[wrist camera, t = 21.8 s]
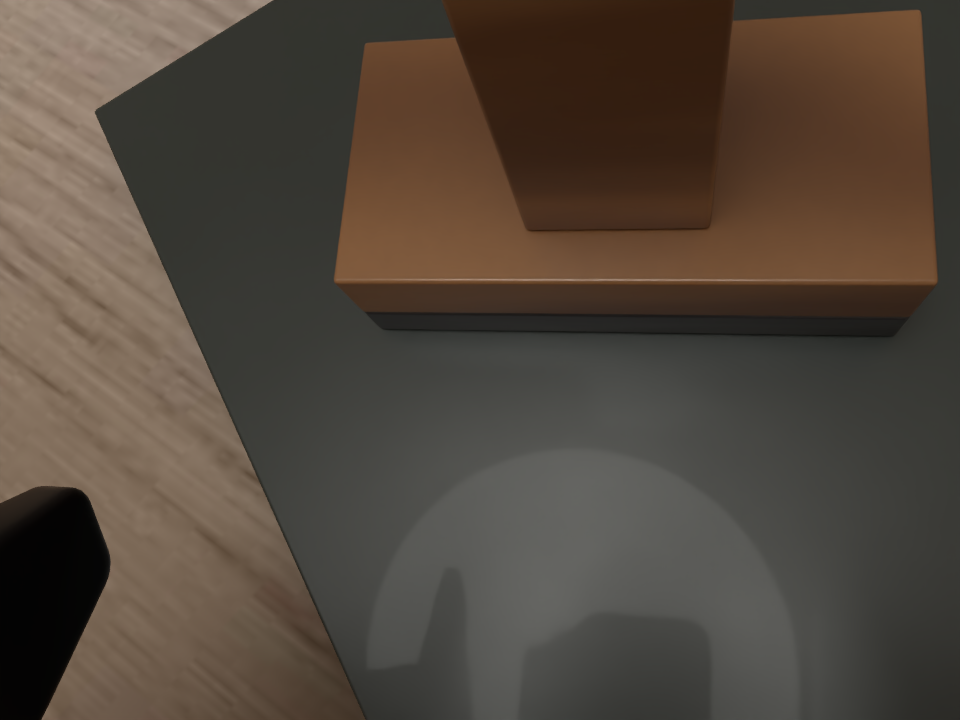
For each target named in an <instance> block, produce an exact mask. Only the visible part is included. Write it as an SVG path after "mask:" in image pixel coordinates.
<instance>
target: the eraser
mask: <svg viewBox="0 0 960 720" xmlns="http://www.w3.org/2000/svg"><path fill="white" fill-rule="evenodd" d="M442 3H443V6H444V9H445V11H446V14H447V17H448V19H449V22H450V25H451V28H452V30H453V33H454V36H455V38H439V39H422V40H406V41H389V42H372V43H366V44H365V46H364V53H363V61H362V68H361V76H360V84H359V91H358V99H357V107H356V114H355V122H354V129H353V137H352V145H351V152H350V160H349V168H348V175H347V183H346V191H345V198H344V206H343V214H342V221H341V229H340V237H339V244H338V252H337V260H336V267H335V275H334V282H335V284H336V285H337V286H338V287H339V288H340V289H341V290H342V291H343V292H344V293H345V294H346V295H347V296H348V297H349V298H350V299H351V300H352V301H353V302H354V303H355V304H356V305H357V306H358V307H359V308H360V309H361V310H362V311H364V312H365V313H366V314H367V315H368V316H369V317H370V318H371V319H372V320H373V321H374V322H375V323H376V324H377V325H378V326H379V327H380V328H382V329H430V330H500V331H571V332H641V333H712V334H783V335H853V336H893V335H895V334H896V333H897V332H898V331H899V330H900V328H901V327H902V326H903V325H904V323H905V322H906V321H907V320H908V318H909V316H911V315H912V314H913V313H914V312H915V311H916V309H917V308H918V307H919V306H920V304H921V303H922V302H923V301H924V300H925V298H926V297H927V296H928V295H929V294H930V292H931V291H932V290H933V289H934V287H935V286H936V285H937V283H938V270H937V254H936V238H935V222H934V206H933V190H932V174H931V158H930V142H929V126H928V110H927V94H926V78H925V62H924V46H923V30H922V15H921V12H920V10H903V11H886V12H870V13H853V14H836V15H820V16H803V17H787V18H770V19H754V20H737V21H733V15H734V6H735V0H442Z"/></svg>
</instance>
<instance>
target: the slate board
mask: <svg viewBox="0 0 960 720" xmlns="http://www.w3.org/2000/svg"><path fill="white" fill-rule="evenodd" d="M903 10H920V12H921V15H922V30H923V46H924V62H925V78H926V94H927V110H928V126H929V142H930V158H931V174H932V190H933V206H934V222H935V238H936V254H937V270H938V283H937V285H936V286H935V287H934V289H933V290H932V291H931V292H930V294H929V295H928V296H927V297H926V298H925V300H924V301H923V302H922V303H921V304H920V306H919V307H918V308H917V309H916V311H915V312H914V313H913V314H912V315H911V316H909V318H908V320H907V321H906V322H905V323H904V325H903V326H902V327H901V328H900V330H899V331H898V332H897V333H896V334H895V335H893V336H853V335H783V334H712V333H641V332H571V331H500V330H430V329H382V328H380V327H379V326H378V325H377V324H376V323H375V322H374V321H373V320H372V319H371V318H370V317H369V316H368V315H367V314H366V313H365V312H364V311H362V310H361V309H360V308H359V307H358V306H357V305H356V304H355V303H354V302H353V301H352V300H351V299H350V298H349V297H348V296H347V295H346V294H345V293H344V292H343V291H342V290H341V289H340V288H339V287H338V286H337V285H336V284H335V282H334V275H335V267H336V260H337V252H338V244H339V237H340V229H341V221H342V214H343V206H344V198H345V191H346V183H347V175H348V168H349V160H350V152H351V145H352V137H353V129H354V122H355V114H356V107H357V99H358V91H359V84H360V76H361V68H362V61H363V53H364V46H365V44H366V43H372V42H389V41H406V40H422V39H439V38H455V36H454V33H453V30H452V28H451V25H450V22H449V19H448V17H447V14H446V11H445V9H444V6H443V3H442V0H273V1H271V2H270V3H268V4H267V5H265V6H263V7H262V8H260V9H258V10H257V11H255V12H254V13H252V14H250V15H249V16H247V17H246V18H244V19H242V20H241V21H239V22H237V23H236V24H234V25H233V26H231V27H229V28H228V29H226V30H224V31H223V32H221V33H220V34H218V35H216V36H215V37H213V38H212V39H210V40H208V41H207V42H205V43H203V44H202V45H200V46H199V47H197V48H195V49H194V50H192V51H190V52H189V53H187V54H186V55H184V56H182V57H181V58H179V59H178V60H176V61H174V62H173V63H171V64H169V65H168V66H166V67H165V68H163V69H161V70H160V71H158V72H156V73H155V74H153V75H152V76H150V77H148V78H147V79H145V80H144V81H142V82H140V83H139V84H137V85H135V86H134V87H132V88H131V89H129V90H127V91H126V92H124V93H122V94H121V95H119V96H118V97H116V98H114V99H113V100H111V101H110V102H108V103H106V104H105V105H103V106H101V107H100V108H98V109H97V110H96V111H95V114H96V116H97V119H98V121H99V123H100V125H101V127H102V130H103V132H104V134H105V136H106V139H107V141H108V143H109V145H110V148H111V150H112V152H113V154H114V157H115V159H116V161H117V163H118V166H119V168H120V170H121V172H122V175H123V177H124V179H125V181H126V184H127V186H128V188H129V190H130V192H131V195H132V197H133V199H134V201H135V204H136V206H137V208H138V210H139V213H140V215H141V217H142V219H143V222H144V224H145V226H146V228H147V231H148V233H149V235H150V237H151V240H152V242H153V244H154V246H155V249H156V251H157V253H158V255H159V257H160V260H161V262H162V264H163V266H164V269H165V271H166V273H167V275H168V278H169V280H170V282H171V284H172V287H173V289H174V291H175V293H176V296H177V298H178V300H179V302H180V305H181V307H182V309H183V311H184V314H185V316H186V318H187V320H188V322H189V325H190V327H191V329H192V331H193V334H194V336H195V338H196V340H197V343H198V345H199V347H200V349H201V352H202V354H203V356H204V358H205V361H206V363H207V365H208V367H209V370H210V372H211V374H212V376H213V379H214V381H215V383H216V385H217V387H218V390H219V392H220V394H221V396H222V399H223V401H224V403H225V405H226V408H227V410H228V412H229V414H230V417H231V419H232V421H233V423H234V426H235V428H236V430H237V432H238V435H239V437H240V439H241V441H242V444H243V446H244V448H245V450H246V452H247V455H248V457H249V459H250V461H251V464H252V466H253V468H254V470H255V473H256V475H257V477H258V479H259V482H260V484H261V486H262V488H263V491H264V493H265V495H266V497H267V500H268V502H269V504H270V506H271V509H272V511H273V513H274V515H275V517H276V520H277V522H278V524H279V526H280V529H281V531H282V533H283V535H284V538H285V540H286V542H287V544H288V547H289V549H290V551H291V553H292V556H293V558H294V560H295V562H296V565H297V567H298V569H299V571H300V574H301V576H302V578H303V580H304V582H305V585H306V587H307V589H308V591H309V594H310V596H311V598H312V600H313V603H314V605H315V607H316V609H317V612H318V614H319V616H320V618H321V621H322V623H323V625H324V627H325V630H326V632H327V634H328V636H329V639H330V641H331V643H332V645H333V647H334V650H335V652H336V654H337V656H338V659H339V661H340V663H341V665H342V668H343V670H344V672H345V674H346V677H347V679H348V681H349V683H350V686H351V688H352V690H353V692H354V695H355V697H356V699H357V701H358V704H359V706H360V708H361V710H362V713H363V715H364V717H365V719H366V720H960V0H735V6H734V15H733V21H737V20H754V19H770V18H787V17H803V16H820V15H836V14H853V13H870V12H886V11H903Z"/></svg>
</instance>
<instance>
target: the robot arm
mask: <svg viewBox="0 0 960 720" xmlns="http://www.w3.org/2000/svg"><path fill="white" fill-rule="evenodd" d="M109 572H110V554H109V551H108V548H107V545H106V543H105V540H104V537H103V535H102V532H101V529H100V526H99V524H98V521H97V518H96V516H95V513H94V510H93V508H92V505H91V502H90V500H89V498H88V497H87V496H86V495H85V494H84V493H83V492H82V491H81V490H79V489H76V488H71V487H55V486H40V487H35V488H33V489H30V490H28V491H26V492H24V493H22V494H20V495H17V496H15V497H13V498H11V499H9V500H7V501H4V502H2V503H0V720H41V719H42V717H43V715H44V713H45V711H46V709H47V707H48V705H49V703H50V701H51V699H52V697H53V695H54V693H55V691H56V688H57V686H58V684H59V682H60V680H61V678H62V676H63V674H64V672H65V669H66V667H67V665H68V663H69V661H70V659H71V657H72V655H73V652H74V650H75V648H76V646H77V644H78V642H79V640H80V638H81V635H82V633H83V631H84V629H85V627H86V625H87V623H88V621H89V618H90V616H91V614H92V612H93V610H94V608H95V606H96V604H97V601H98V599H99V597H100V595H101V593H102V591H103V589H104V587H105V584H106V582H107V579H108V576H109Z"/></svg>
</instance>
